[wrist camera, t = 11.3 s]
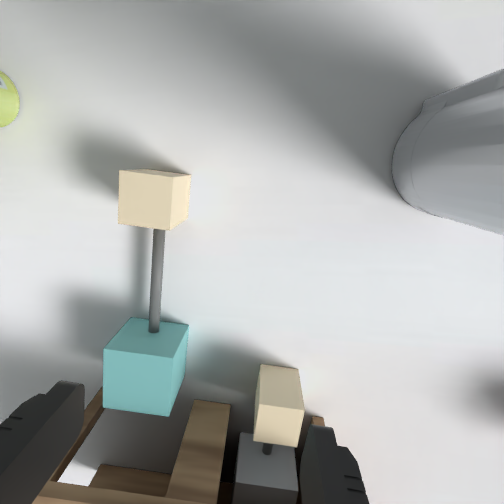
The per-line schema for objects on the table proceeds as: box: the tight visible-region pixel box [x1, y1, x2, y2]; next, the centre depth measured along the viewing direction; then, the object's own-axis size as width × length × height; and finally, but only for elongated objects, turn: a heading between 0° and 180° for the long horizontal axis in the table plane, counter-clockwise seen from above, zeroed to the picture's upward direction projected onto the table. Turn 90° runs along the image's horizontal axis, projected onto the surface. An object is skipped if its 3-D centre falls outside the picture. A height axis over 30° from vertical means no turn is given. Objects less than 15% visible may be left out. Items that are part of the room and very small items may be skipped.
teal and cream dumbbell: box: [103, 169, 191, 417], centre depth 30 cm, size 21×6×6 cm, turn 173°
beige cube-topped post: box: [231, 364, 305, 504], centre depth 34 cm, size 15×6×6 cm, turn 172°
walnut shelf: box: [32, 386, 325, 504], centre depth 32 cm, size 12×24×12 cm, turn 82°
